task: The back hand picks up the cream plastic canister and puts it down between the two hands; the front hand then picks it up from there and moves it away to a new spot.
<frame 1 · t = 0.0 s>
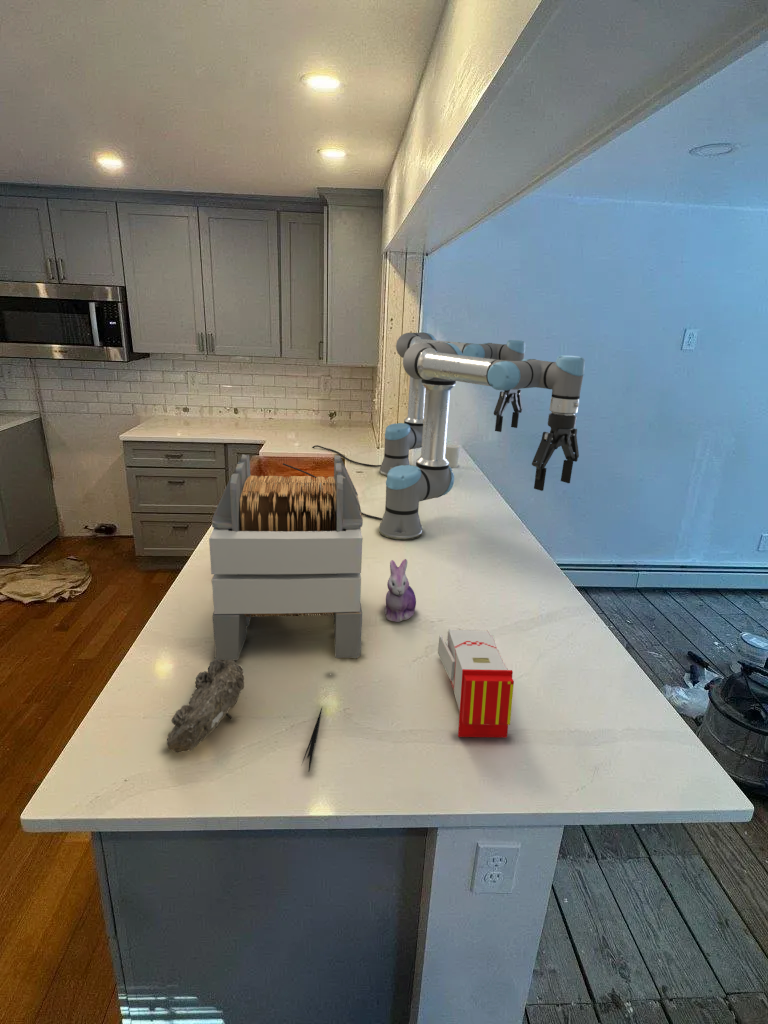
front hand: (552, 485, 166), 28 cm above the counter, tool pointing down, fingers open, 13 cm apart
back hand: (506, 429, 243), 28 cm above the counter, tool pointing down, fingers open, 13 cm apart
figurine: (399, 614, 147), on the counter
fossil: (212, 717, 108), on the counter
grey record crate stand: (291, 621, 142), on the counter
canister: (450, 465, 291), on the counter
feather: (319, 719, 109), on the counter
toy: (469, 691, 119), on the counter
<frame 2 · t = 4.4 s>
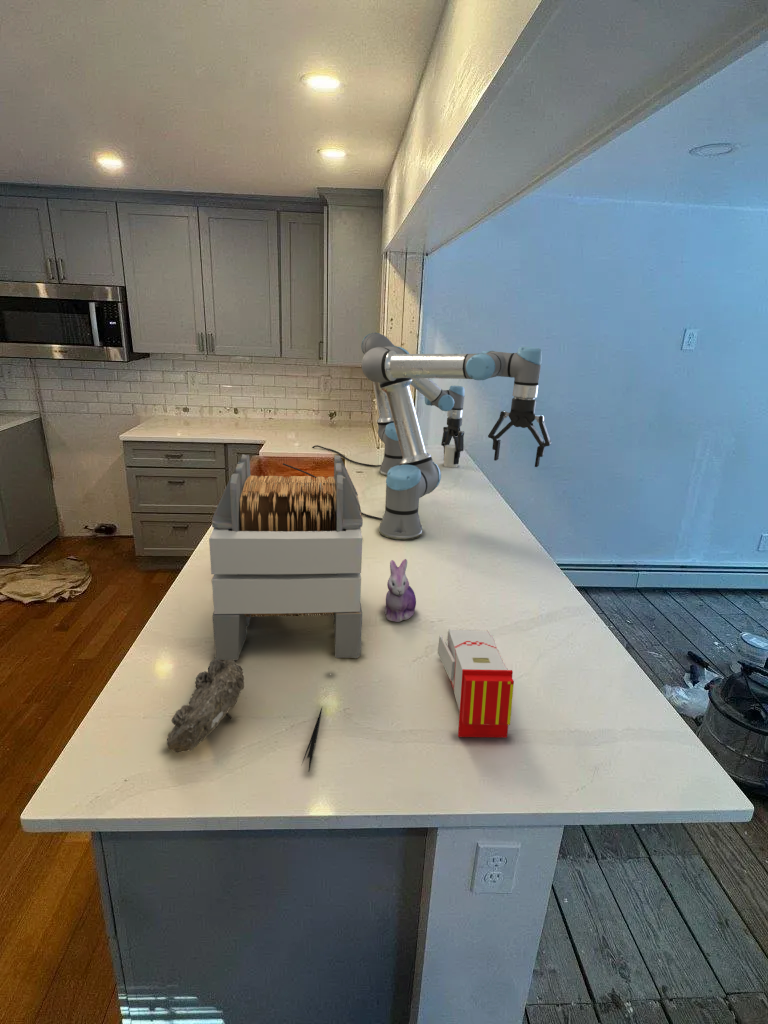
front hand: (516, 462, 187), 28 cm above the counter, tool pointing down, fingers open, 13 cm apart
back hand: (450, 462, 290), 2 cm above the counter, tool pointing down, fingers closed on canister, 7 cm apart
canister: (450, 465, 291), on the counter, touching back hand
everything else where it was.
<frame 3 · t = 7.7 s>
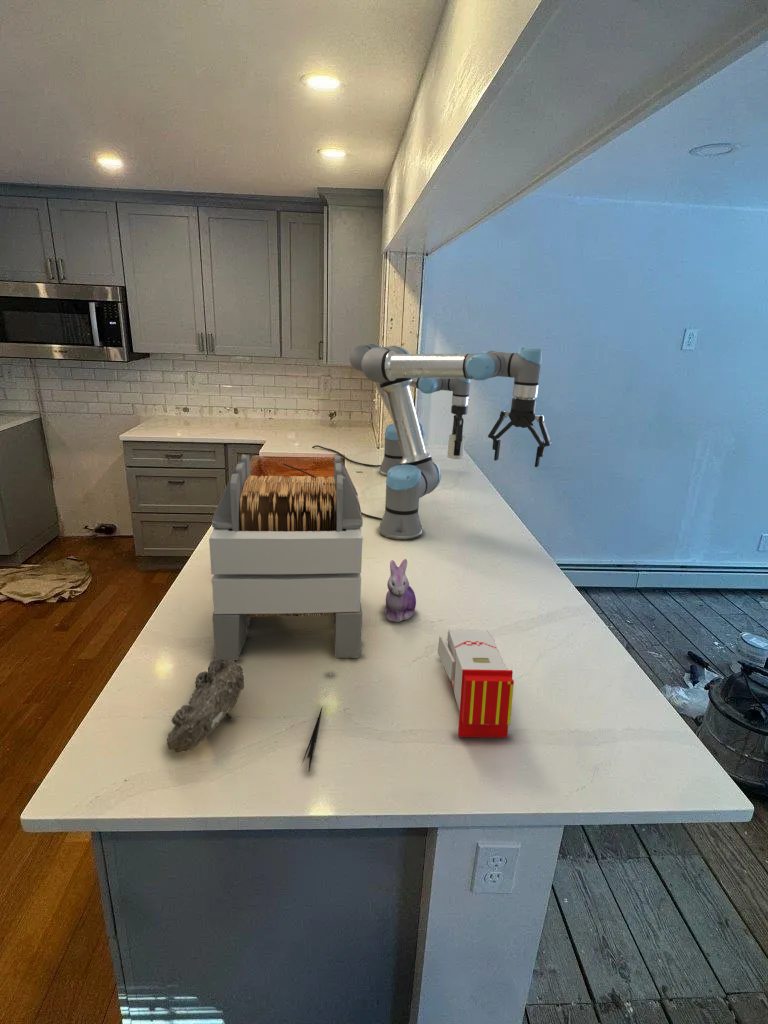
front hand: (516, 462, 187), 28 cm above the counter, tool pointing down, fingers open, 13 cm apart
back hand: (455, 453, 270), 11 cm above the counter, tool pointing down, fingers closed on canister, 7 cm apart
canister: (455, 457, 270), point 9 cm above the counter, touching back hand
everything else where it was.
when the back hand's fingers open (3 cm above the counter, at t = 11.4 s): canister drops 1 cm, on the counter.
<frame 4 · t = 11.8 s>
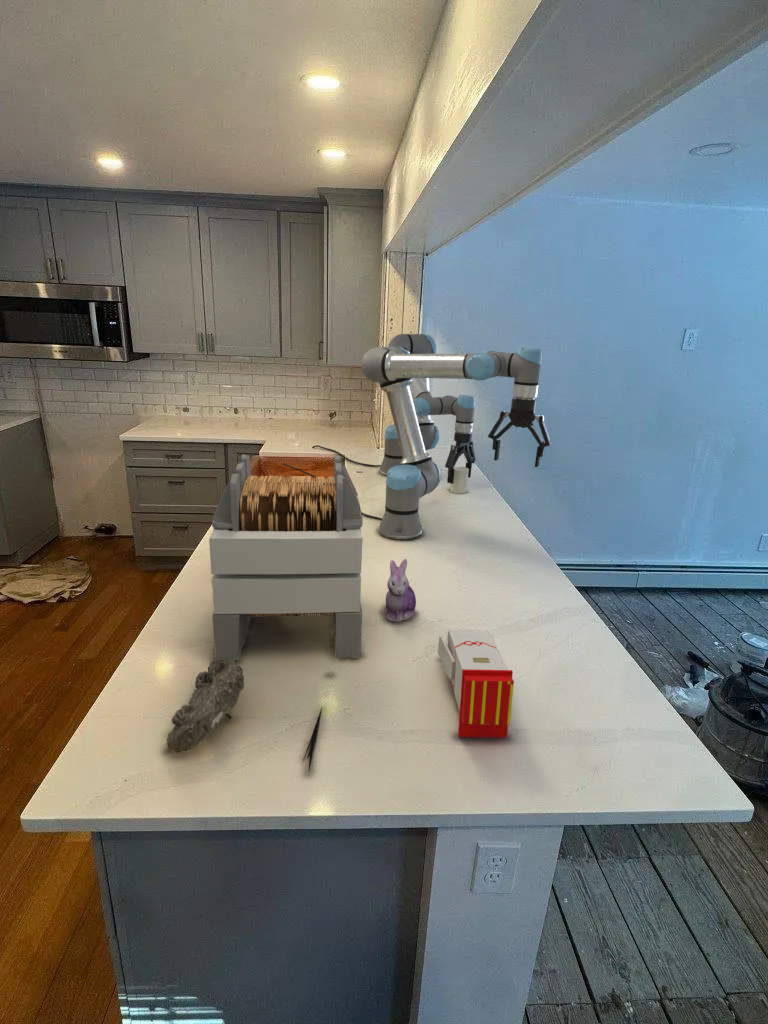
front hand: (516, 462, 187), 28 cm above the counter, tool pointing down, fingers open, 13 cm apart
back hand: (459, 480, 249), 5 cm above the counter, tool pointing down, fingers open, 13 cm apart
canister: (458, 490, 251), on the counter
everything else where it was.
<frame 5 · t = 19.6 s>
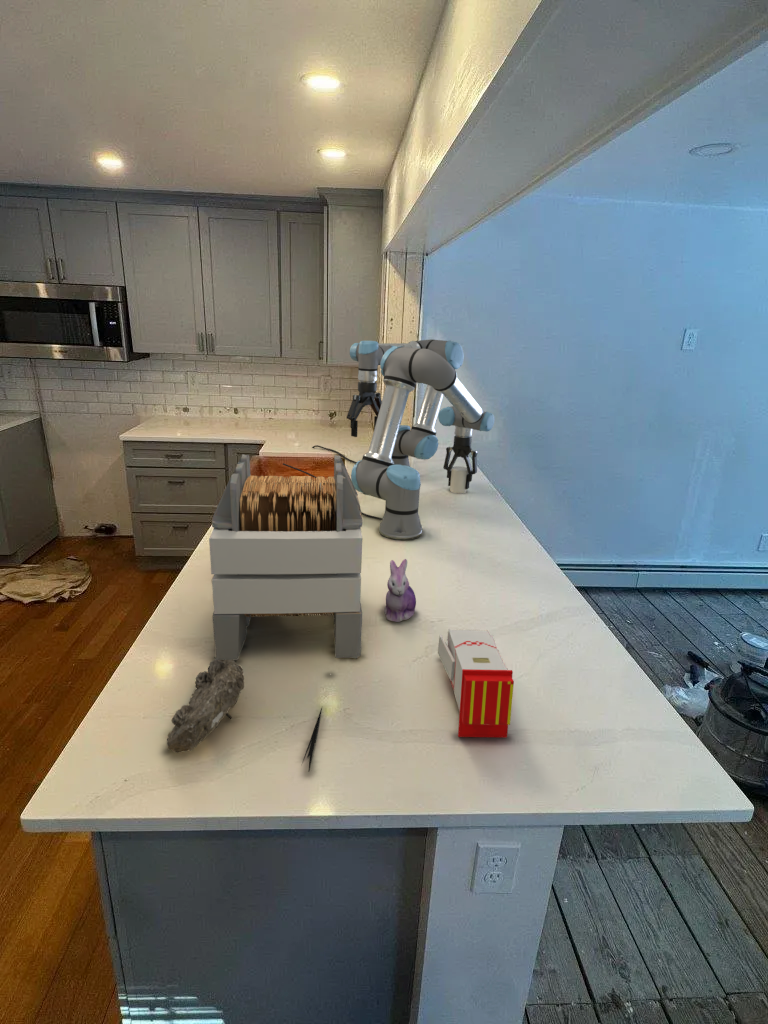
front hand: (458, 486, 250), 2 cm above the counter, tool pointing down, fingers closed on canister, 7 cm apart
back hand: (365, 434, 232), 26 cm above the counter, tool pointing down, fingers open, 13 cm apart
canister: (458, 490, 251), on the counter, touching front hand
everything else where it was.
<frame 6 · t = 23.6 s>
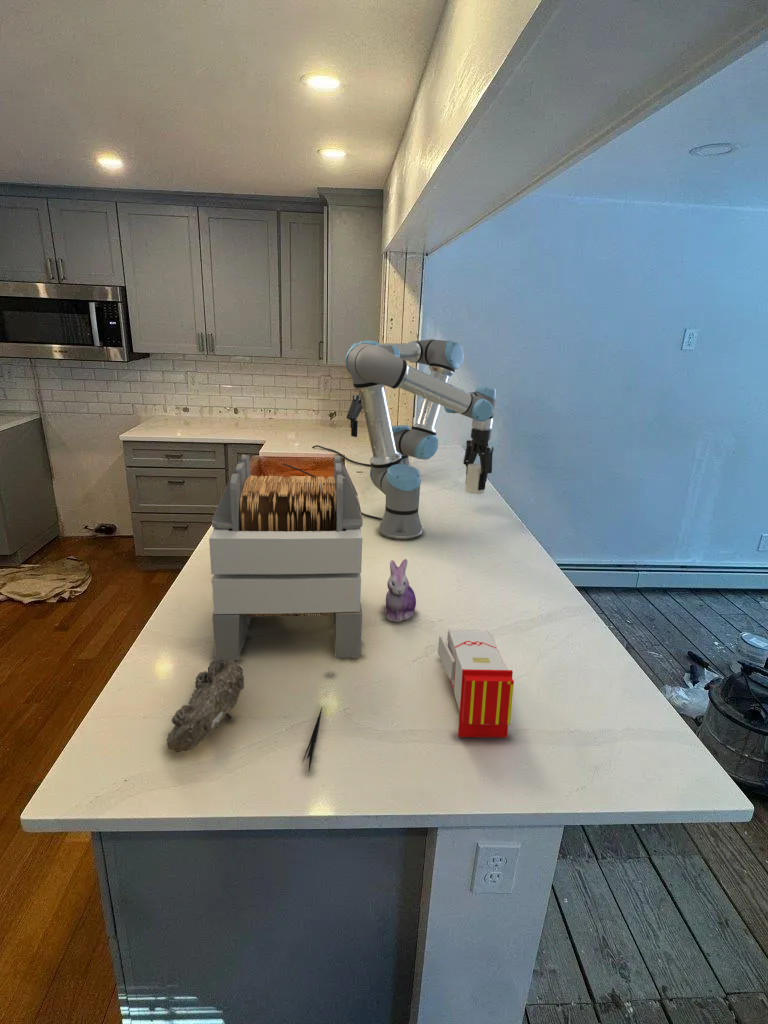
front hand: (475, 486, 221), 11 cm above the counter, tool pointing down, fingers closed on canister, 7 cm apart
back hand: (365, 434, 232), 26 cm above the counter, tool pointing down, fingers open, 13 cm apart
canister: (474, 491, 222), point 9 cm above the counter, touching front hand
everything else where it was.
when the front hand's fingers open (3 cm above the counter, at t = 27.6 s): canister drops 1 cm, on the counter.
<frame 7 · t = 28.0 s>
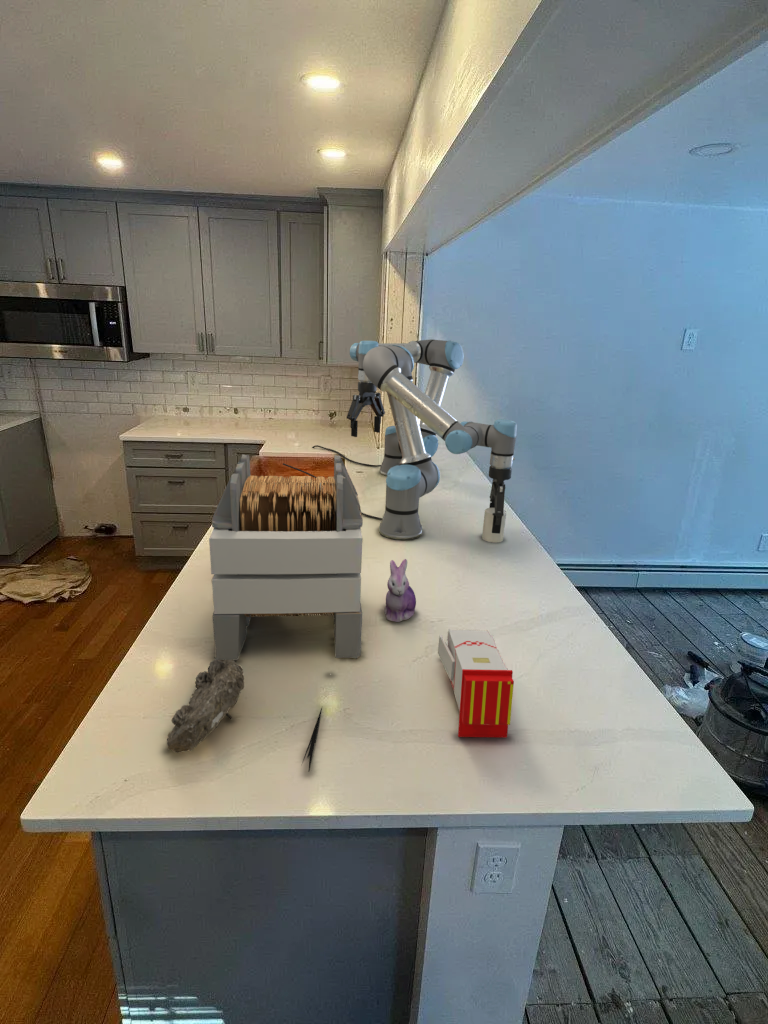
front hand: (493, 526, 198), 5 cm above the counter, tool pointing down, fingers open, 12 cm apart
back hand: (365, 434, 232), 26 cm above the counter, tool pointing down, fingers open, 13 cm apart
canister: (492, 538, 200), on the counter
everything else where it was.
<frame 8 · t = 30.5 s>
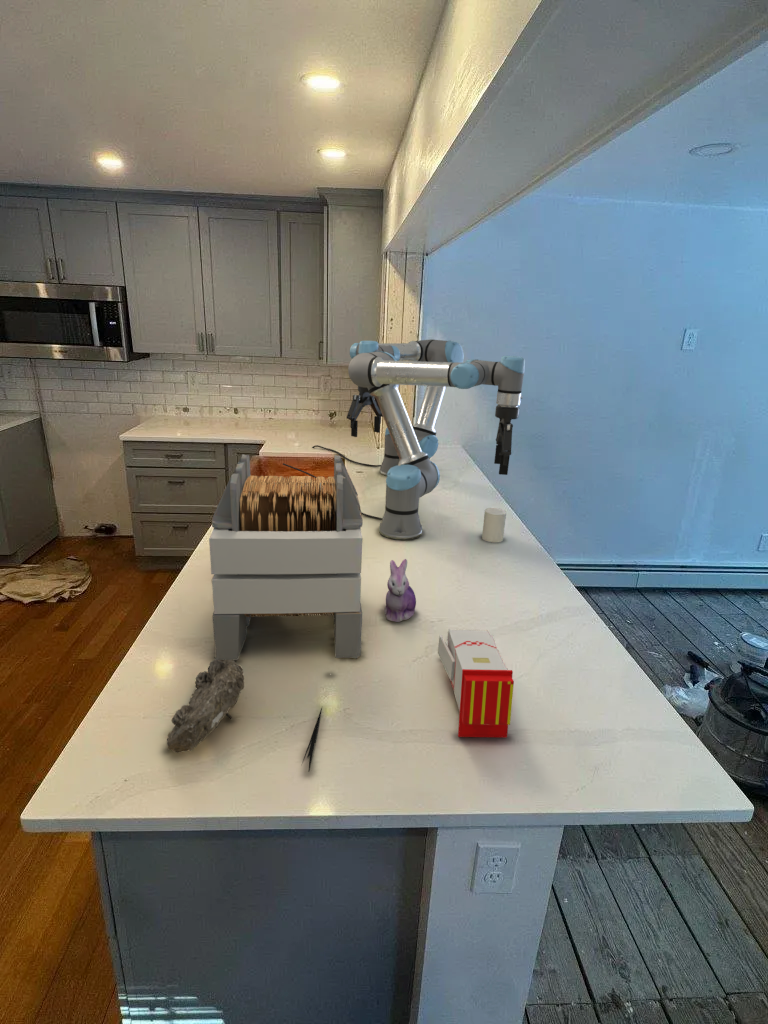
front hand: (500, 468, 191), 25 cm above the counter, tool pointing down, fingers open, 13 cm apart
back hand: (365, 434, 232), 26 cm above the counter, tool pointing down, fingers open, 13 cm apart
nothing on the counter moved.
at the end: canister inside the target area (0.0 cm from its centre), on the counter; canister tilted 0°; the two hands never held the canister at the same time; the front hand is holding nothing; the back hand is holding nothing; canister at rest at the end (0.0 cm/s) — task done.
